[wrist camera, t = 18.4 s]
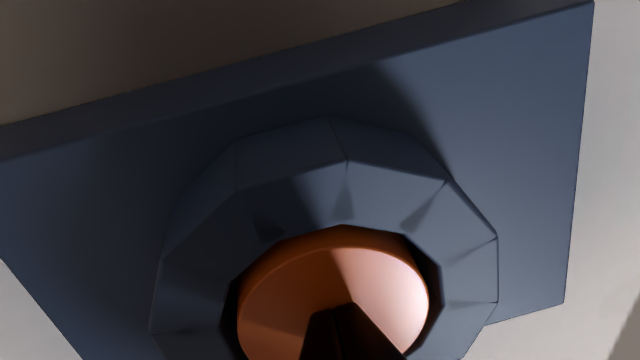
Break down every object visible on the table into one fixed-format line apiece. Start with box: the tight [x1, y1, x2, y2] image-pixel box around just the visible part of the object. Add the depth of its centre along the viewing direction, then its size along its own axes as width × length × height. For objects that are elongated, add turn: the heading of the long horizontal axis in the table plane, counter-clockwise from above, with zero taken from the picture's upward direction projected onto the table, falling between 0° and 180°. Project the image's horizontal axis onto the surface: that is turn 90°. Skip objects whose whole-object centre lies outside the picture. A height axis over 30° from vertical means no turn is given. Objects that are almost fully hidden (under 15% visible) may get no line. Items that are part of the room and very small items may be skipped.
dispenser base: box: [0, 0, 595, 360], centre depth 10 cm, size 12×8×4 cm, turn 103°
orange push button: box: [237, 224, 429, 360], centre depth 9 cm, size 4×4×2 cm
